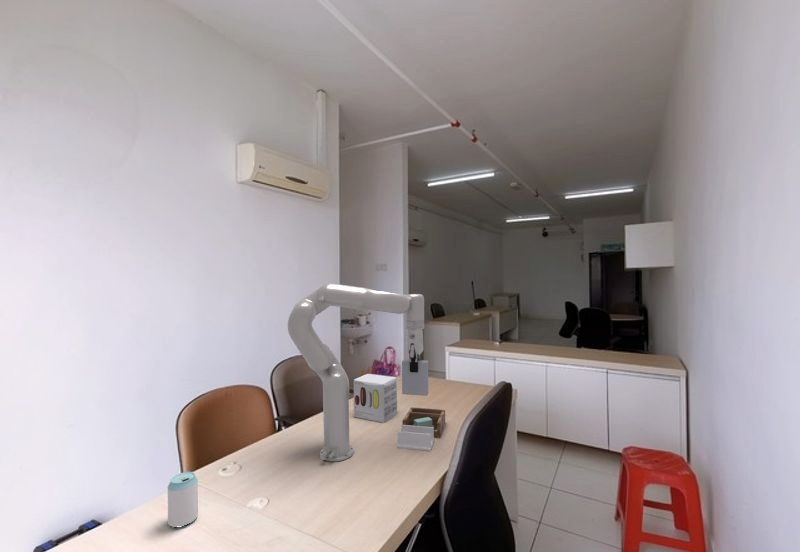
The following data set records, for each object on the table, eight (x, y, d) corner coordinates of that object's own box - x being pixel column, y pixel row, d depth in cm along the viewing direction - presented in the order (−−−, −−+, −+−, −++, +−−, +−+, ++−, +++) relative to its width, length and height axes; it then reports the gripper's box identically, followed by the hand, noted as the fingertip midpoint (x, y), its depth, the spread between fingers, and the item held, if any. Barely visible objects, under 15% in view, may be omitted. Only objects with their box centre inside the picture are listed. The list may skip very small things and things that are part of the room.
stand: (430, 451, 137) (430, 435, 137) (397, 447, 140) (397, 432, 140) (434, 440, 146) (434, 426, 146) (403, 438, 149) (402, 423, 149)
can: (203, 512, 103) (202, 469, 103) (189, 529, 96) (188, 483, 96) (177, 513, 102) (177, 470, 103) (162, 530, 95) (161, 484, 96)
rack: (440, 438, 148) (439, 422, 148) (402, 434, 152) (402, 419, 152) (445, 423, 163) (445, 408, 164) (411, 420, 167) (410, 406, 168)
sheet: (427, 395, 142) (426, 362, 142) (402, 394, 144) (401, 361, 144) (428, 393, 145) (428, 360, 145) (404, 391, 147) (403, 359, 148)
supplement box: (353, 417, 173) (352, 379, 173) (368, 408, 184) (367, 373, 185) (384, 423, 165) (383, 383, 165) (398, 414, 176) (397, 376, 177)
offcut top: (432, 426, 153) (432, 419, 153) (417, 429, 150) (417, 422, 151) (428, 423, 156) (428, 416, 156) (414, 426, 154) (413, 419, 154)
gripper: (420, 327, 136) (420, 376, 136) (427, 322, 152) (427, 366, 152) (400, 327, 138) (401, 375, 137) (409, 322, 154) (410, 365, 154)
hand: (414, 370), depth 145 cm, fingers closed on sheet, 3 cm apart
